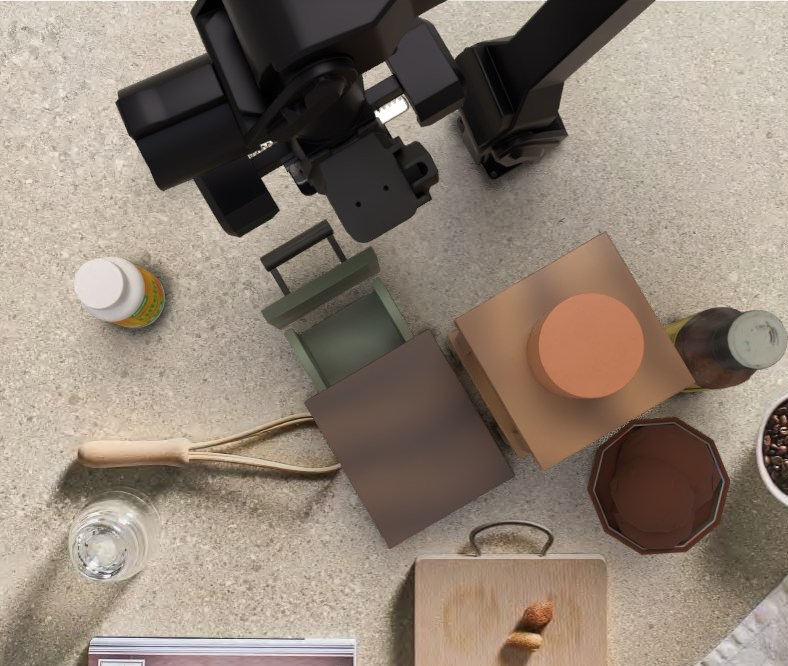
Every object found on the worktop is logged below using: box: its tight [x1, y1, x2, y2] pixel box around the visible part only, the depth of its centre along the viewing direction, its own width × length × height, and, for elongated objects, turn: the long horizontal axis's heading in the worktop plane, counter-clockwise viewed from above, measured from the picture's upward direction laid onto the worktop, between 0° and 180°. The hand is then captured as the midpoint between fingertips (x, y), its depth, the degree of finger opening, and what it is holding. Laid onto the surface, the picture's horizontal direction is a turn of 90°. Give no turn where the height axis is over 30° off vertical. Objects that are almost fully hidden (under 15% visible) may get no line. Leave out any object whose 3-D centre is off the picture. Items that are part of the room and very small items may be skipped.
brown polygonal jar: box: [586, 416, 731, 556], centre depth 71 cm, size 11×11×15 cm
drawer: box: [259, 218, 415, 394], centre depth 74 cm, size 17×10×7 cm, turn 30°
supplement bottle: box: [73, 255, 166, 329], centre depth 74 cm, size 5×5×10 cm
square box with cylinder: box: [445, 230, 695, 472], centre depth 67 cm, size 11×11×24 cm
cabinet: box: [303, 328, 516, 550], centre depth 74 cm, size 14×12×9 cm
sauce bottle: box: [663, 306, 788, 393], centre depth 68 cm, size 7×6×20 cm
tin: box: [527, 293, 644, 399], centre depth 52 cm, size 6×6×5 cm
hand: (337, 163), depth 67 cm, fingers closed
